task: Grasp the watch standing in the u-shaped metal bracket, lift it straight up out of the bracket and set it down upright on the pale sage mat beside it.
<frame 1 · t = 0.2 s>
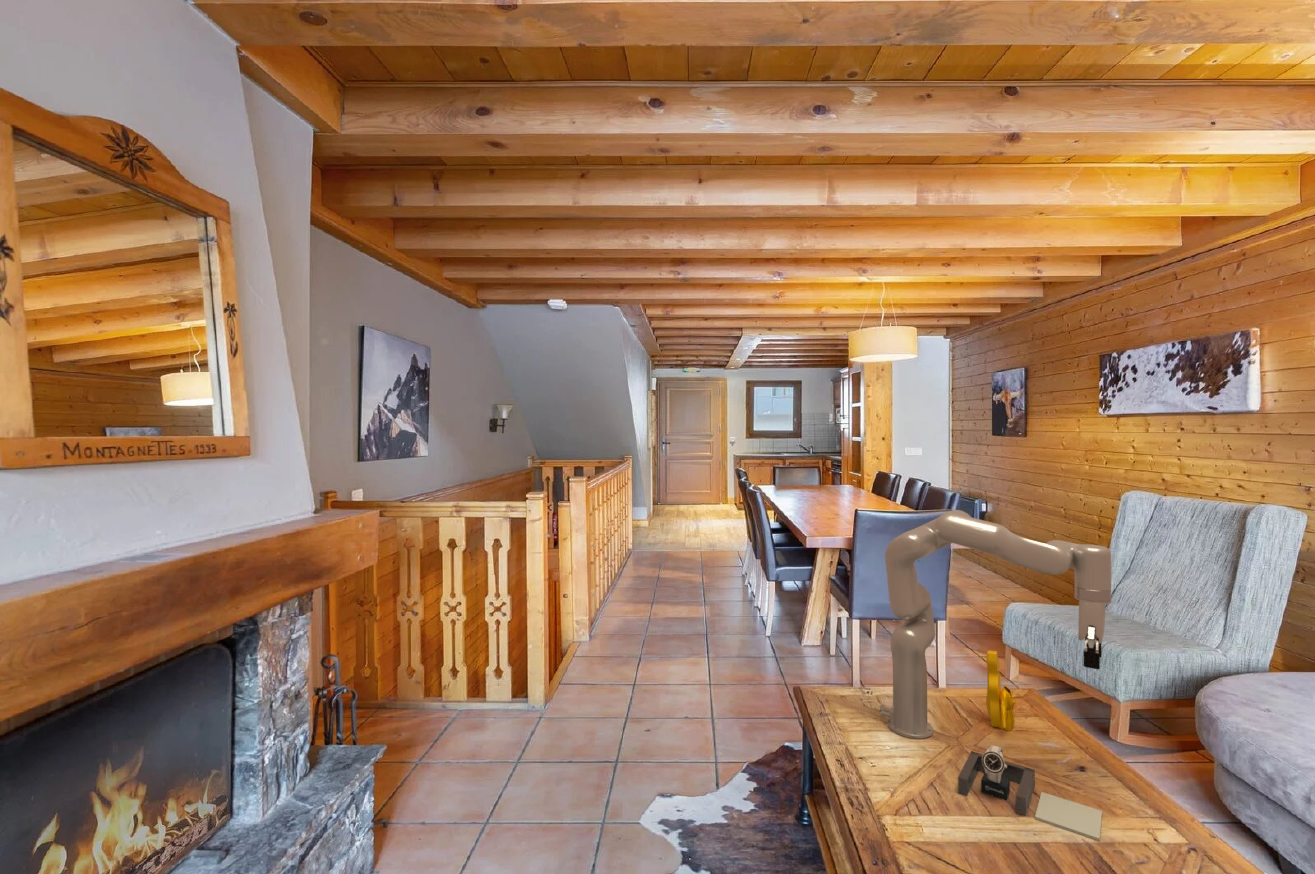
hand: (1092, 661, 152), 31 cm above the table, tool pointing down, fingers open, 9 cm apart
figure statuette: (1000, 725, 182), on the table
watch: (995, 793, 149), on the table
sage mat: (1068, 816, 139), on the table
u-shaped metal bracket: (995, 792, 149), on the table
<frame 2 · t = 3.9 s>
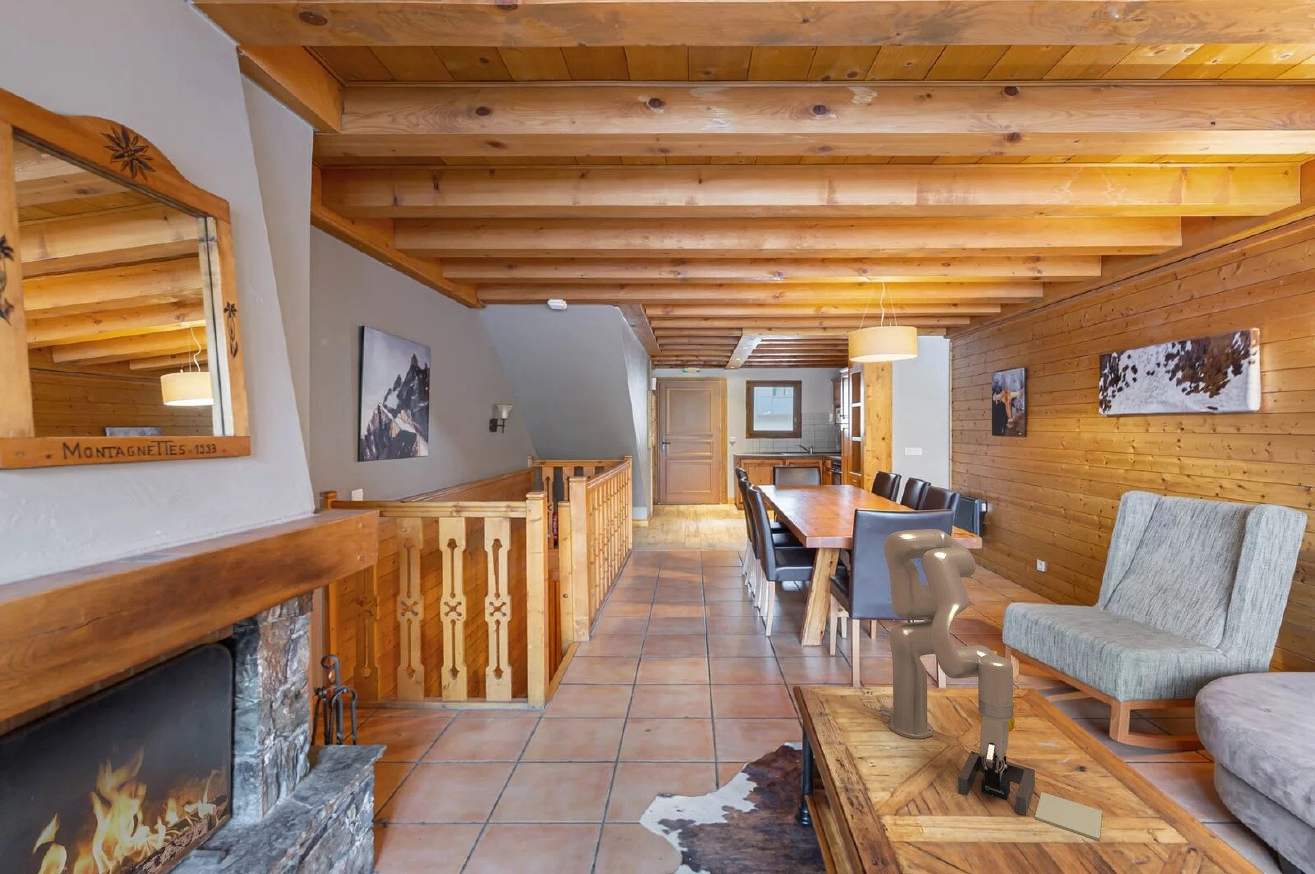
hand: (995, 777, 148), 4 cm above the table, tool pointing down, fingers closed on watch, 8 cm apart
watch: (995, 793, 149), on the table, touching gripper
everything else where it was.
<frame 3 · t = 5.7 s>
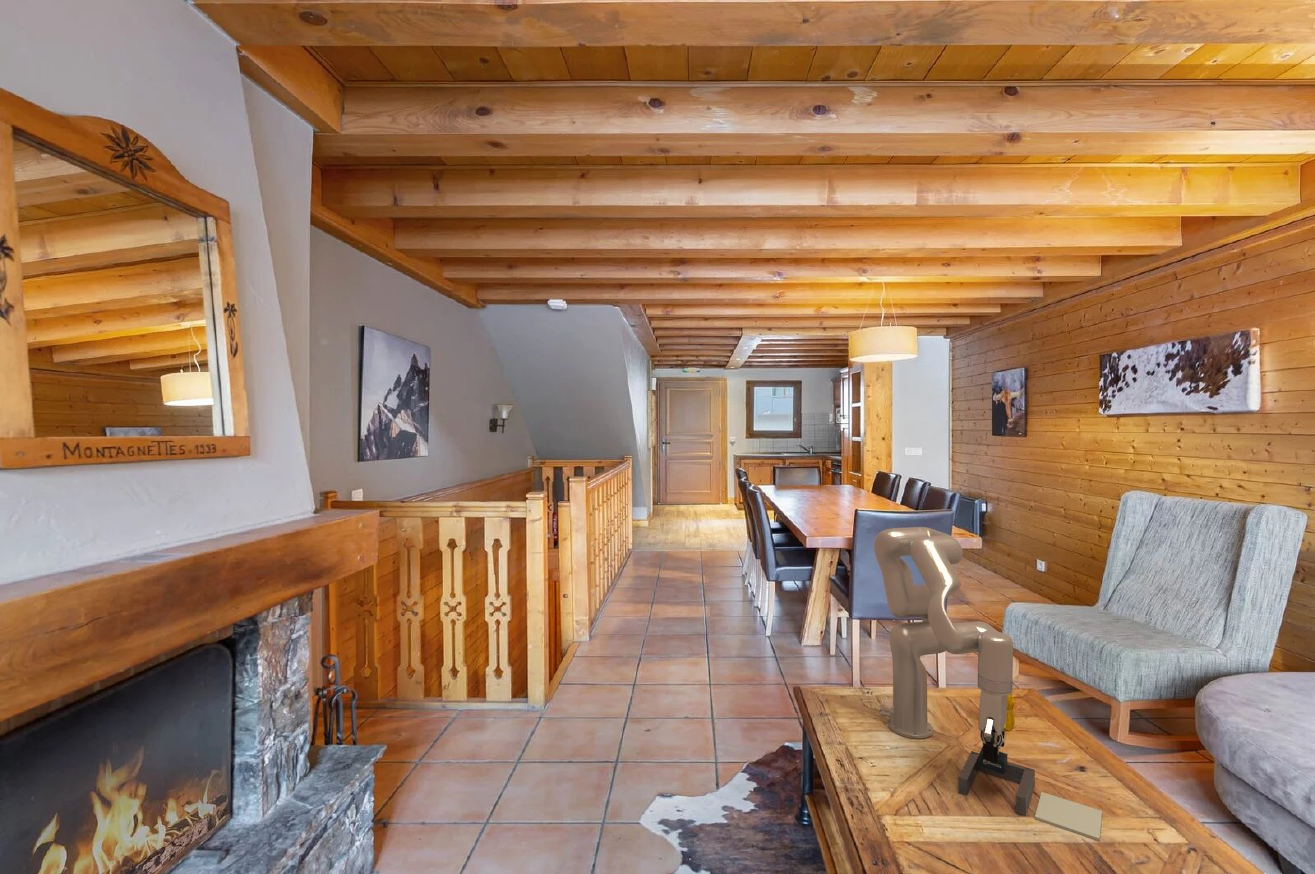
hand: (993, 751, 149), 10 cm above the table, tool pointing down, fingers closed on watch, 8 cm apart
watch: (993, 767, 149), point 6 cm above the table, touching gripper
everything else where it was.
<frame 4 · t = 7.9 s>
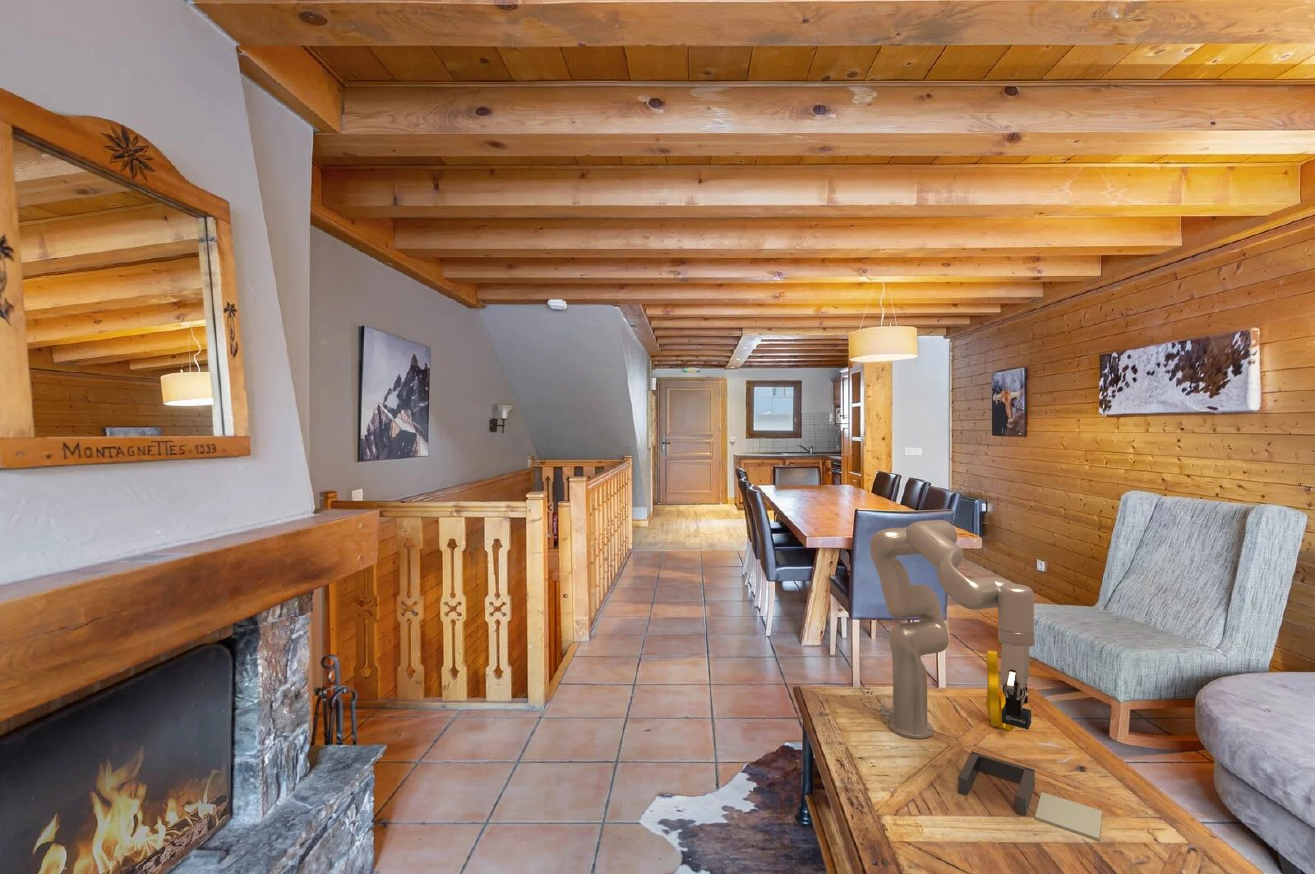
hand: (1016, 707, 145), 22 cm above the table, tool pointing down, fingers closed on watch, 8 cm apart
watch: (1016, 723, 145), point 18 cm above the table, touching gripper
everything else where it was.
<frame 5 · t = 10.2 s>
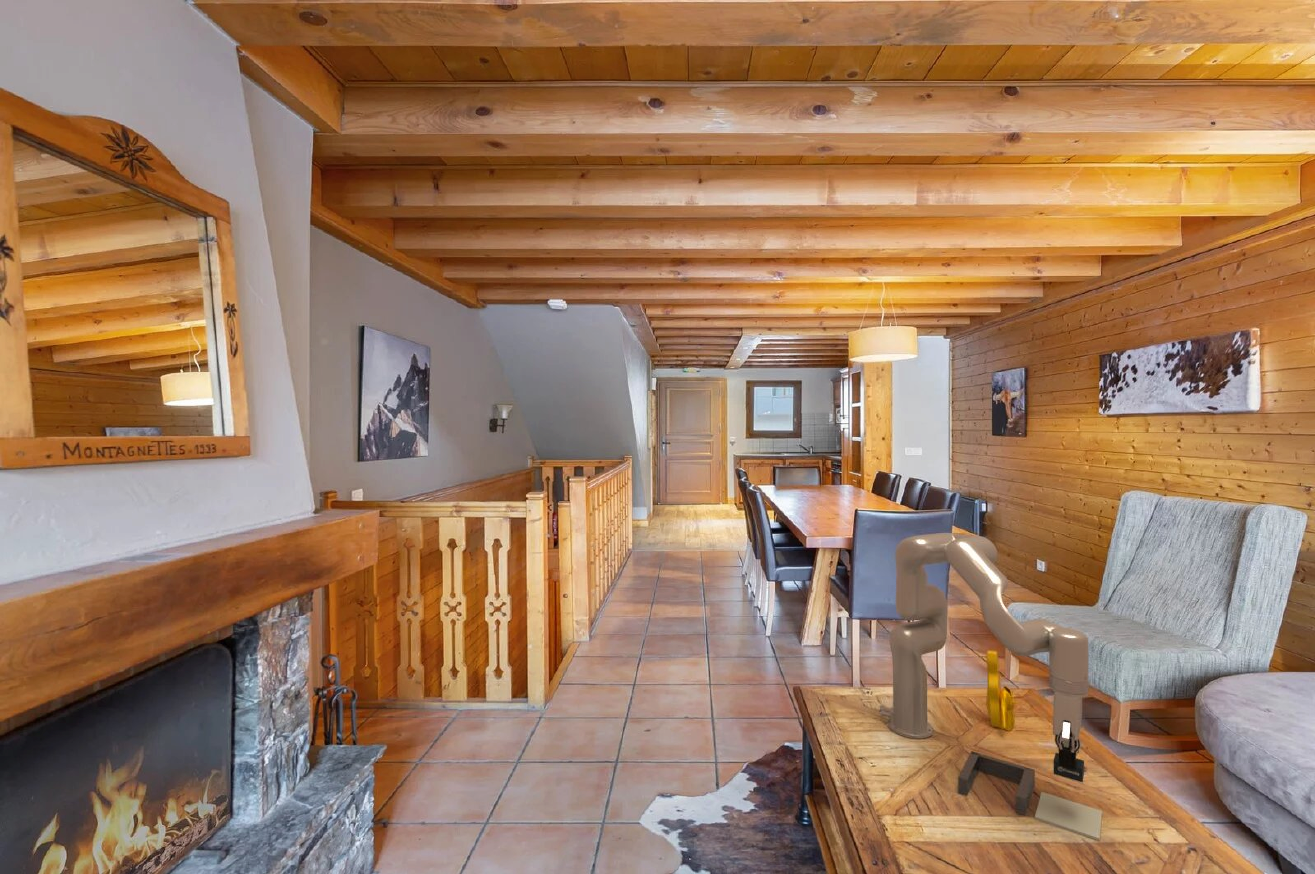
hand: (1069, 758, 139), 13 cm above the table, tool pointing down, fingers closed on watch, 8 cm apart
watch: (1069, 774, 139), point 10 cm above the table, touching gripper
everything else where it was.
when the fingers open (6 cm above the table, at t = 12.2 s): watch drops 2 cm, resting on sage mat.
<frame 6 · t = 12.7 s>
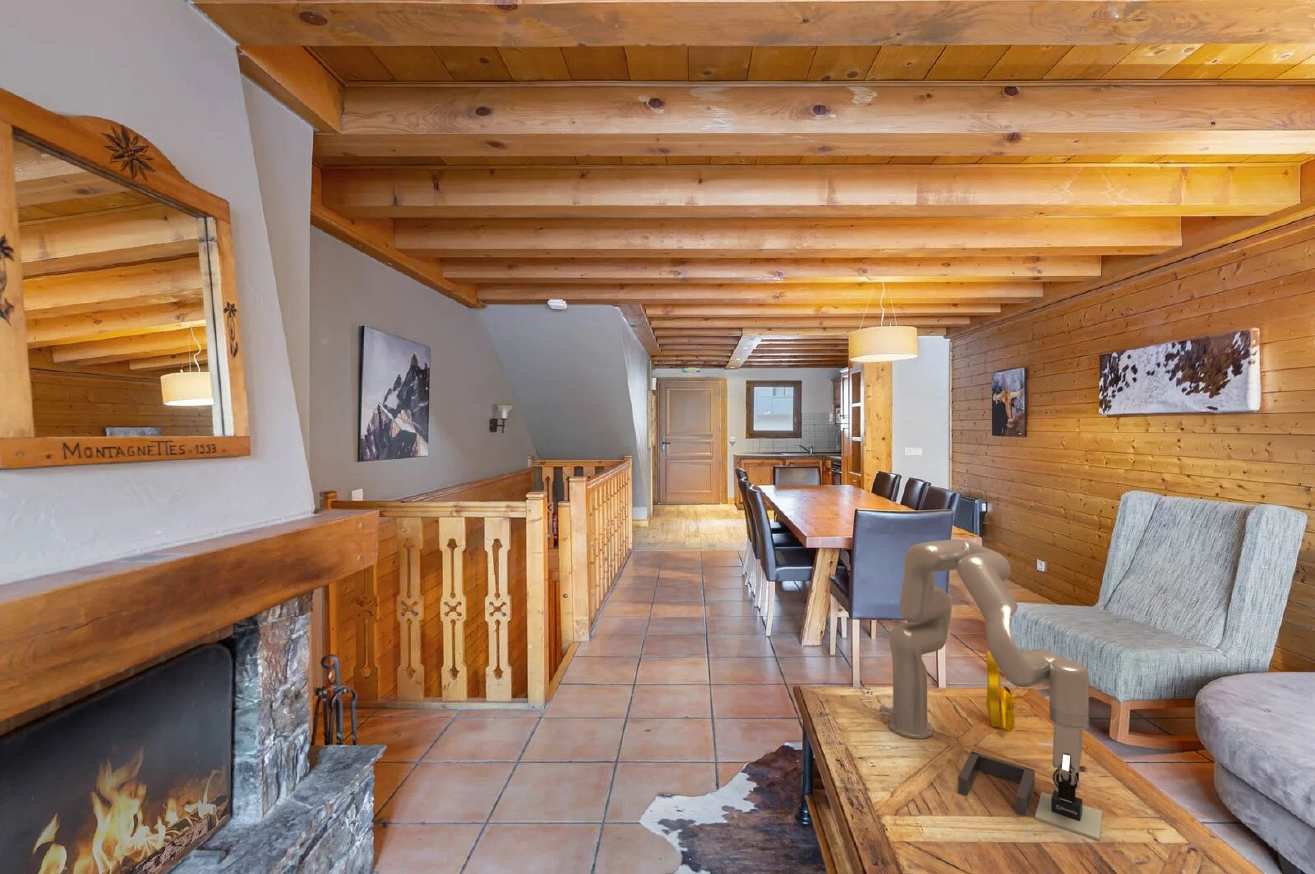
hand: (1068, 789, 139), 6 cm above the table, tool pointing down, fingers open, 9 cm apart
watch: (1067, 812, 140), resting on sage mat
everything else where it was.
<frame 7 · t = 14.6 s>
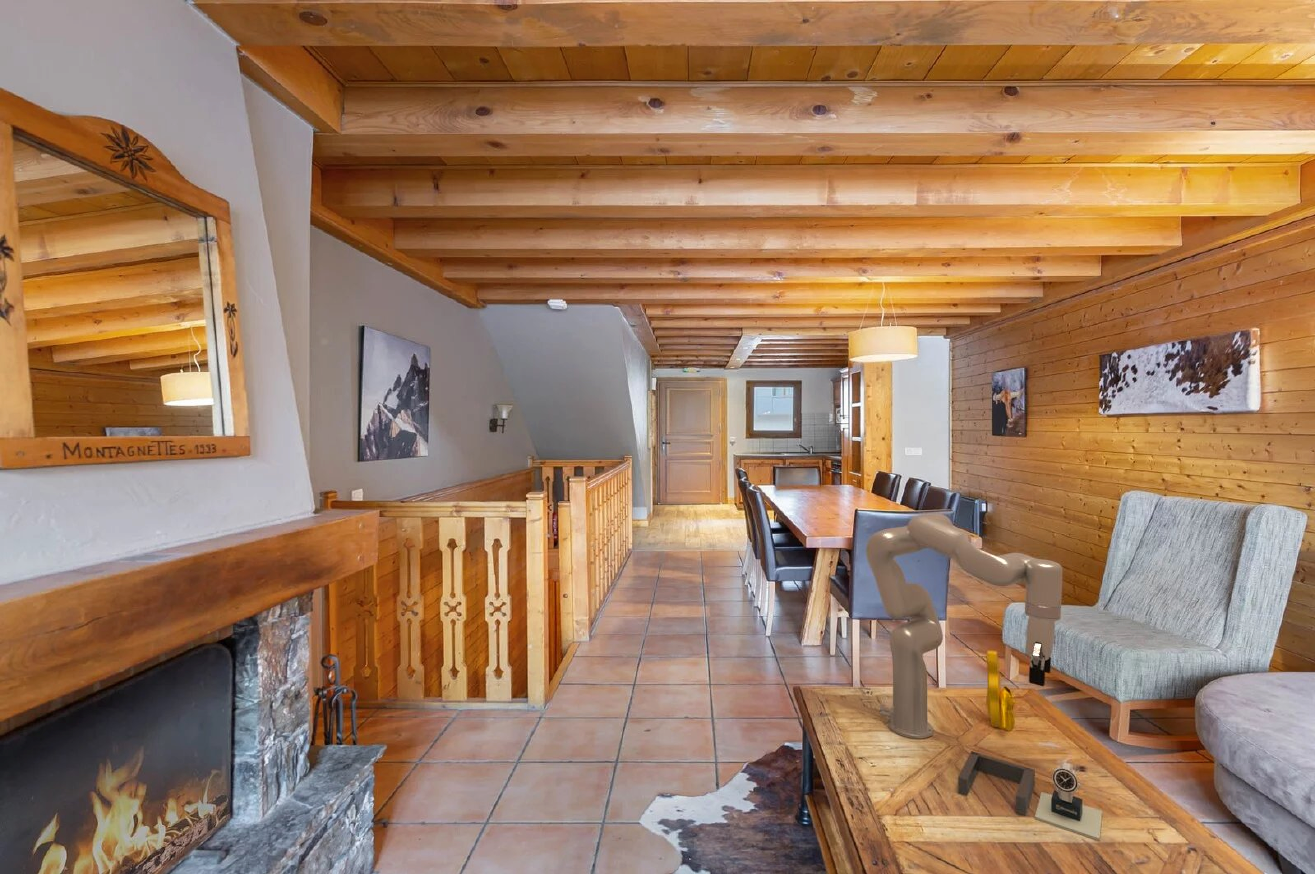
hand: (1039, 677, 150), 28 cm above the table, tool pointing down, fingers open, 9 cm apart
nothing on the table moved.
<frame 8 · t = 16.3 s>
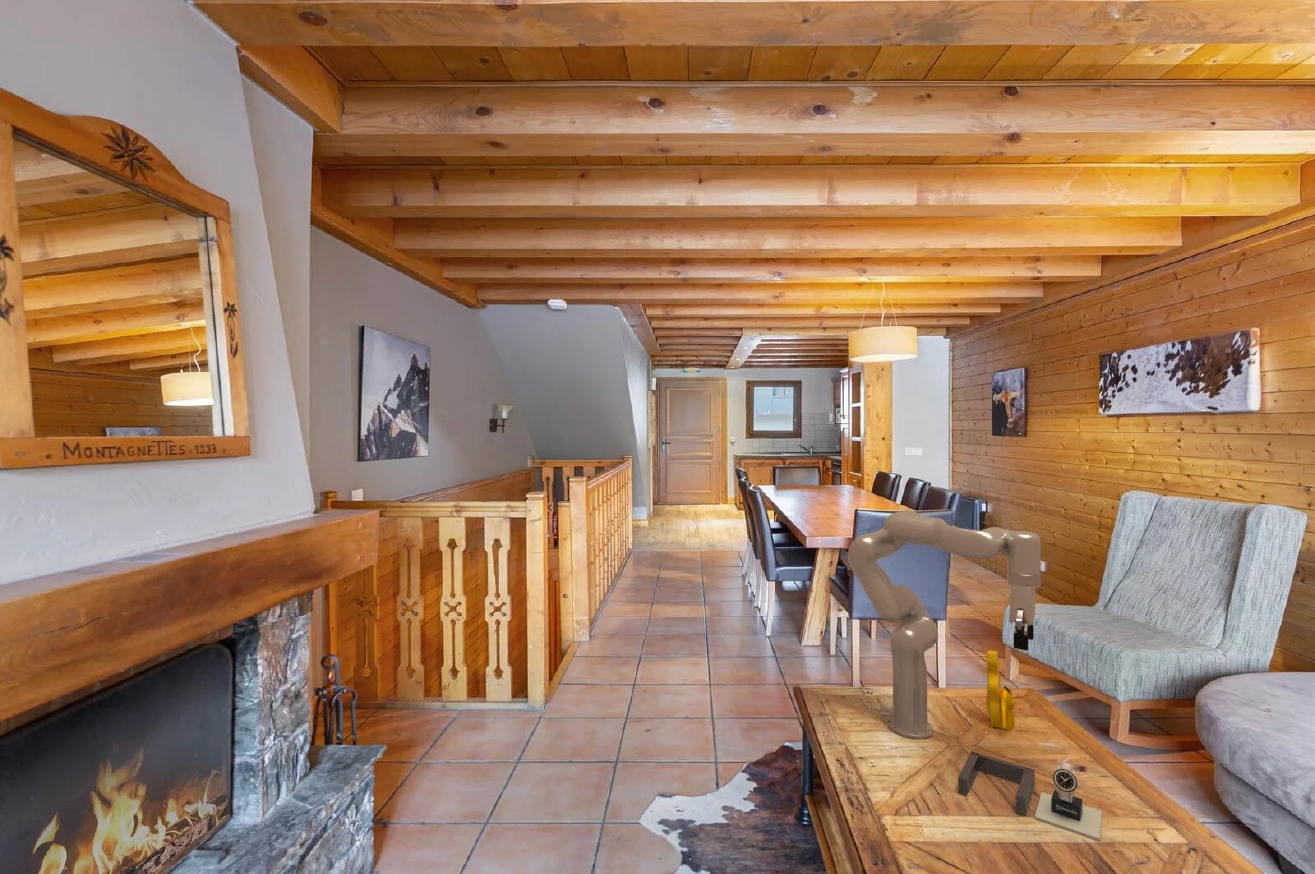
hand: (1023, 643, 158), 33 cm above the table, tool pointing down, fingers open, 9 cm apart
nothing on the table moved.
at the end: watch inside the target area on the sage mat (0.6 cm from its centre), point 0.4 cm above the sage mat's base; watch tilted 0°; the gripper is holding nothing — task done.
